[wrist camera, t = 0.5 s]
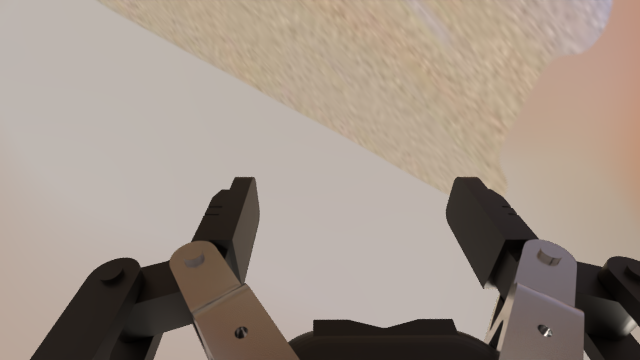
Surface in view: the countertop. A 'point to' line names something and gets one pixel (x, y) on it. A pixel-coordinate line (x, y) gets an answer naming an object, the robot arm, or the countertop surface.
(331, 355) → the robot arm
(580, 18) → the countertop surface
